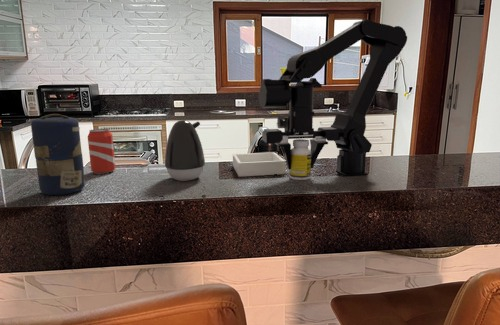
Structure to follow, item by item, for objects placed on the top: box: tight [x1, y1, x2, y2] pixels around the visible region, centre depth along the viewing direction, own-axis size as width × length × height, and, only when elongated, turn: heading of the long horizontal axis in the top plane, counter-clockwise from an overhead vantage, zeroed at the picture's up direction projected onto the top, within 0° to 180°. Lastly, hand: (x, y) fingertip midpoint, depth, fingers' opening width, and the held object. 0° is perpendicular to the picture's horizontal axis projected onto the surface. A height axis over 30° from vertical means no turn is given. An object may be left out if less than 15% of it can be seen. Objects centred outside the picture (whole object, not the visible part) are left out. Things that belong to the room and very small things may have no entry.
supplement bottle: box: [289, 138, 312, 181], centre depth 92 cm, size 5×5×10 cm
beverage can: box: [87, 128, 116, 175], centre depth 101 cm, size 6×6×12 cm
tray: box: [232, 151, 286, 177], centre depth 102 cm, size 13×13×4 cm
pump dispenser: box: [164, 119, 206, 182], centre depth 93 cm, size 10×10×15 cm
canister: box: [30, 113, 86, 196], centre depth 82 cm, size 10×10×18 cm
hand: (300, 168), depth 93 cm, fingers closed on supplement bottle, 5 cm apart
